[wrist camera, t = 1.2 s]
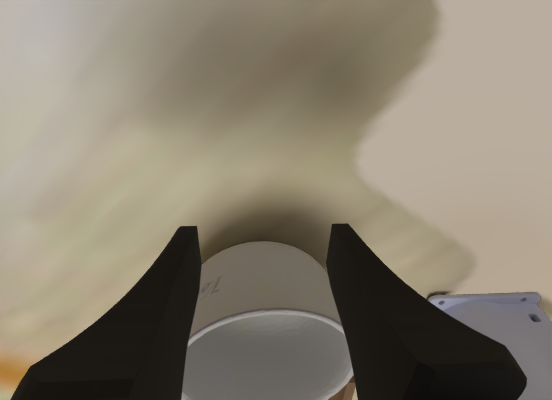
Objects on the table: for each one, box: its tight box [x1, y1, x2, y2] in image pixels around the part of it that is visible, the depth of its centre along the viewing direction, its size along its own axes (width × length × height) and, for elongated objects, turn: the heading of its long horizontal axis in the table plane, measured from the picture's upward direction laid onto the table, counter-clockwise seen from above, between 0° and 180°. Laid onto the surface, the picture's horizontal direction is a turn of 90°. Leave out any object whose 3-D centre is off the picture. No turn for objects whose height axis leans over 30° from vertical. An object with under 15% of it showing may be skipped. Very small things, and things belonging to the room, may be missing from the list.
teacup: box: [181, 241, 354, 400], centre depth 24 cm, size 14×11×8 cm
